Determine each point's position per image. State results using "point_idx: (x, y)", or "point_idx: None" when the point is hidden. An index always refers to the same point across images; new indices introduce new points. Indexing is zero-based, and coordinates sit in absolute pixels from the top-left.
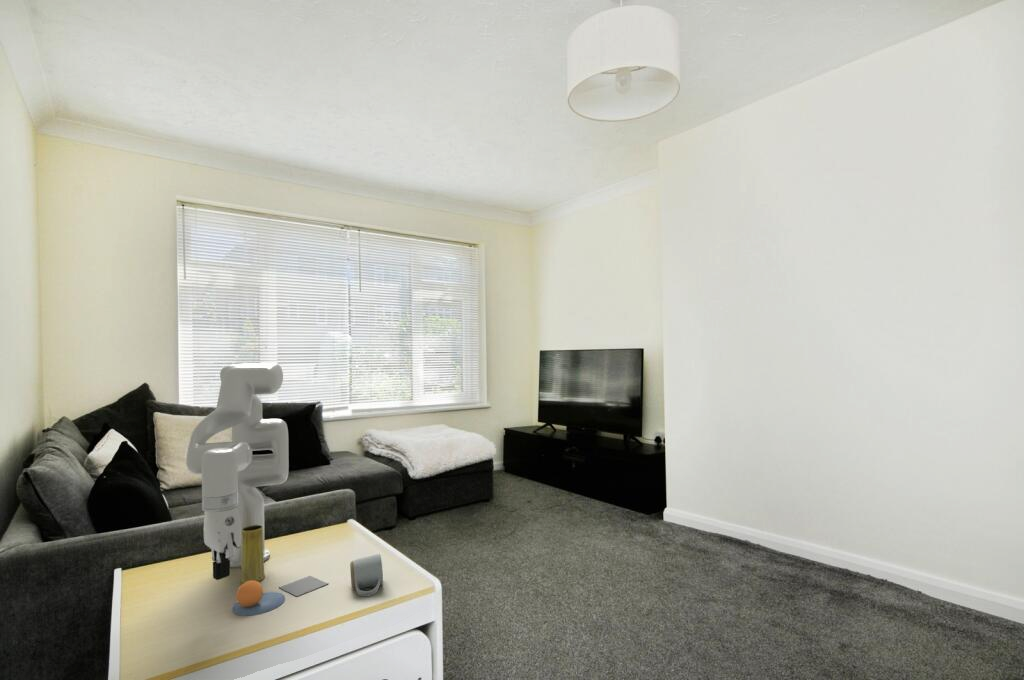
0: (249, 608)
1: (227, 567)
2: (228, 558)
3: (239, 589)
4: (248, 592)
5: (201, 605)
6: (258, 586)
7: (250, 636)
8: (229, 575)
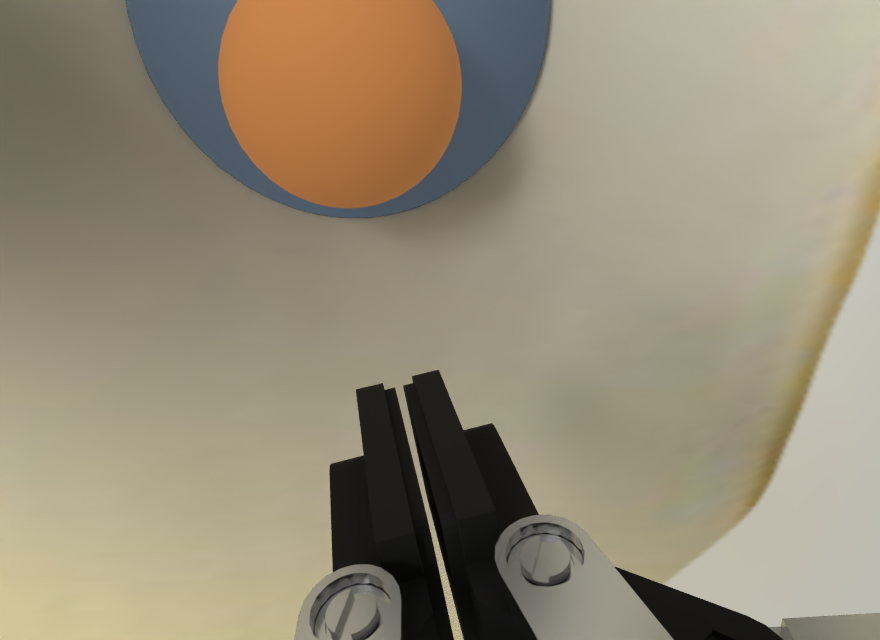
0: None
1: (515, 471)
2: (642, 585)
3: (352, 194)
4: (449, 134)
5: (82, 360)
6: (424, 17)
7: (768, 212)
8: (438, 371)
